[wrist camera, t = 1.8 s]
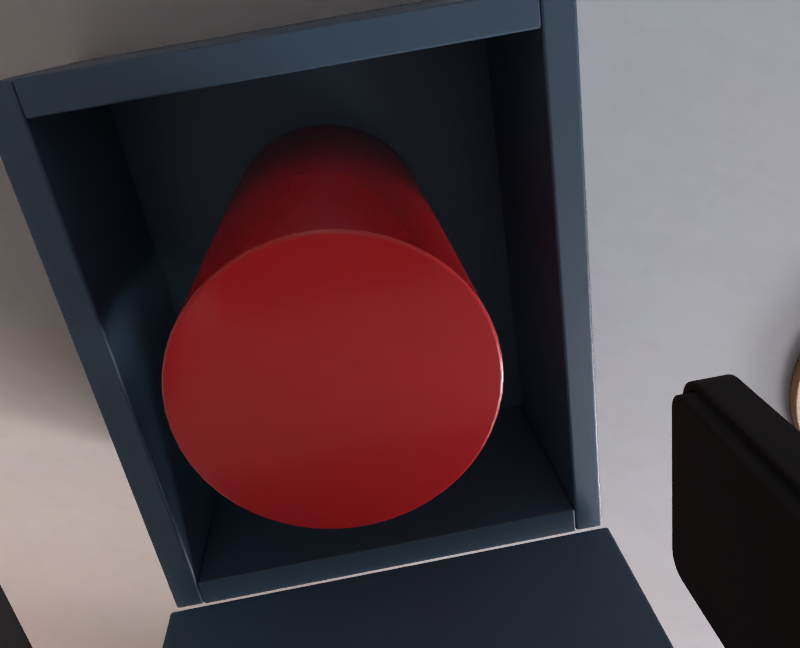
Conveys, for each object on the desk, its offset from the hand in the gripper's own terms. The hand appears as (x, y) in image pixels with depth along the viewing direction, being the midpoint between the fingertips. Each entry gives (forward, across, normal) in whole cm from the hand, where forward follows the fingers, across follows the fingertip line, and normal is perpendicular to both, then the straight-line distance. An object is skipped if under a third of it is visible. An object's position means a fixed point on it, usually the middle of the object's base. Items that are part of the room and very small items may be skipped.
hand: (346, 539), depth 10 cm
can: (+14, 0, 0) cm, 14 cm away
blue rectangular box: (+15, 0, +1) cm, 15 cm away
